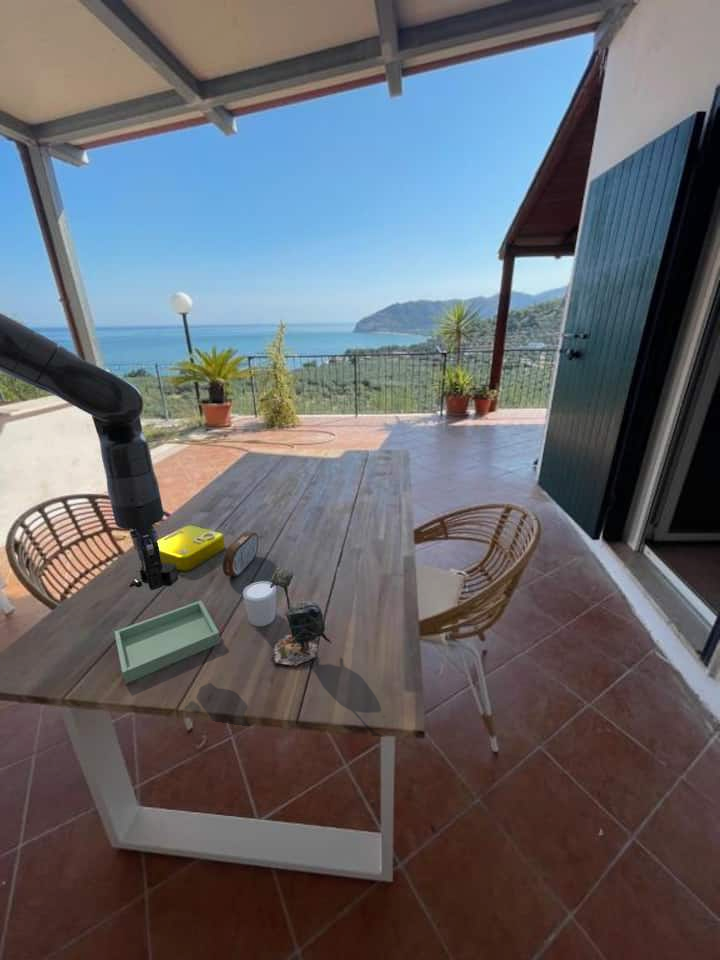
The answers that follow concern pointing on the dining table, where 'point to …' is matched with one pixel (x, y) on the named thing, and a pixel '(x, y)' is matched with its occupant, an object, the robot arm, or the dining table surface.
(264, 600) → the white cylinder
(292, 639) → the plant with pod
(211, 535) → the element tile
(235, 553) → the brown digital clock
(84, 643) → the dining table surface
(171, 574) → the wireless earbuds
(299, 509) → the dining table surface
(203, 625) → the pale tray
